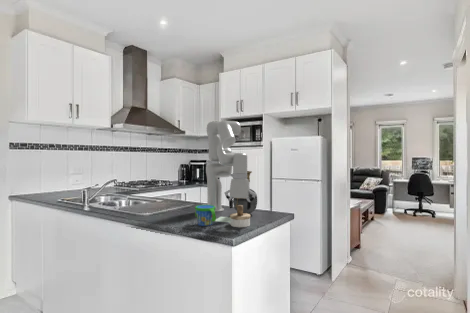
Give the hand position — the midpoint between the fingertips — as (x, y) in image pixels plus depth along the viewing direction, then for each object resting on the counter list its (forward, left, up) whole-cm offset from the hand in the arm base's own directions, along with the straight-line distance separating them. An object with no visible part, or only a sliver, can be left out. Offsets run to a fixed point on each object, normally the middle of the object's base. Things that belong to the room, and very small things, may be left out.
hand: (239, 208), depth 155 cm
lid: (0, 0, -5) cm, 5 cm away
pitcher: (-5, +23, -9) cm, 25 cm away
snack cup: (-18, -5, -9) cm, 21 cm away
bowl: (0, 0, -9) cm, 9 cm away
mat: (-11, +9, -9) cm, 17 cm away
